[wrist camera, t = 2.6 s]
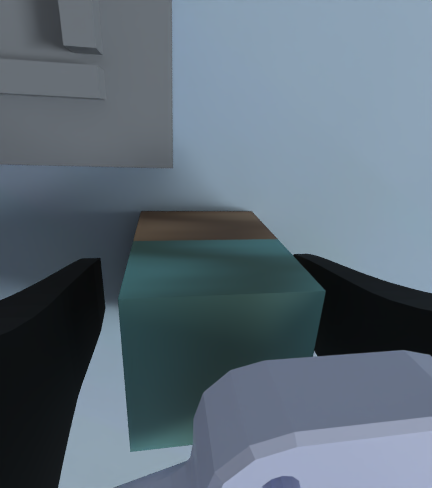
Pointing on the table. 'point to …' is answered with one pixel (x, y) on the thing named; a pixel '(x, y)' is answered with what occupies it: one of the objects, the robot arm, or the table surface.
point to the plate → (86, 83)
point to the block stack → (205, 314)
